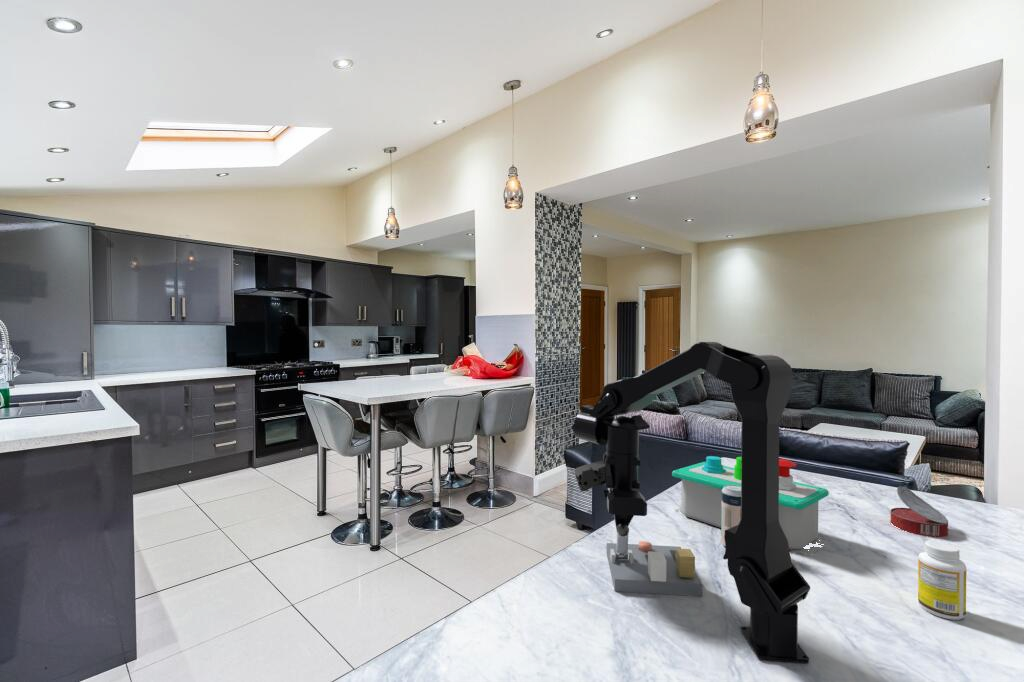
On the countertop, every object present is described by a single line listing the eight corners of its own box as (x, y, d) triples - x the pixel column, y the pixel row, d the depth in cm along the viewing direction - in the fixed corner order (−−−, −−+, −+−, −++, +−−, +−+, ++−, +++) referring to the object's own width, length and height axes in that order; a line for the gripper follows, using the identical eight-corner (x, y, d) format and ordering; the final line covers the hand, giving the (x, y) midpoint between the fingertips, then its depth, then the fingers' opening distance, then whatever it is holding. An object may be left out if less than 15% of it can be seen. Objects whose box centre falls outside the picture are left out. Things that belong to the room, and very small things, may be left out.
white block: (666, 581, 78) (666, 560, 78) (651, 580, 78) (651, 559, 78) (662, 572, 81) (662, 552, 81) (647, 571, 81) (648, 551, 81)
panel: (701, 596, 78) (702, 575, 78) (614, 591, 79) (614, 570, 79) (680, 556, 92) (680, 539, 92) (606, 553, 93) (606, 535, 93)
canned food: (916, 541, 111) (934, 503, 112) (952, 556, 101) (972, 514, 102) (869, 516, 112) (888, 478, 113) (900, 528, 102) (920, 487, 103)
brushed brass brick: (694, 578, 79) (694, 557, 79) (679, 577, 79) (680, 556, 79) (689, 569, 82) (690, 549, 82) (675, 568, 82) (675, 548, 82)
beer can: (750, 553, 94) (750, 492, 93) (724, 550, 95) (724, 490, 94) (743, 542, 98) (744, 484, 98) (718, 540, 99) (719, 483, 99)
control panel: (701, 437, 124) (834, 461, 100) (701, 500, 124) (833, 540, 100) (667, 445, 114) (805, 474, 91) (667, 514, 114) (804, 560, 91)
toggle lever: (628, 563, 85) (630, 528, 83) (616, 562, 85) (617, 527, 83) (626, 554, 87) (628, 520, 85) (614, 554, 87) (616, 520, 86)
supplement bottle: (939, 600, 77) (940, 537, 77) (976, 620, 72) (977, 553, 72) (908, 602, 77) (909, 538, 77) (942, 622, 71) (943, 554, 71)
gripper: (576, 436, 97) (574, 512, 97) (579, 462, 78) (577, 556, 79) (632, 439, 96) (630, 515, 96) (648, 466, 77) (646, 560, 78)
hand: (620, 534), depth 87 cm, fingers closed
